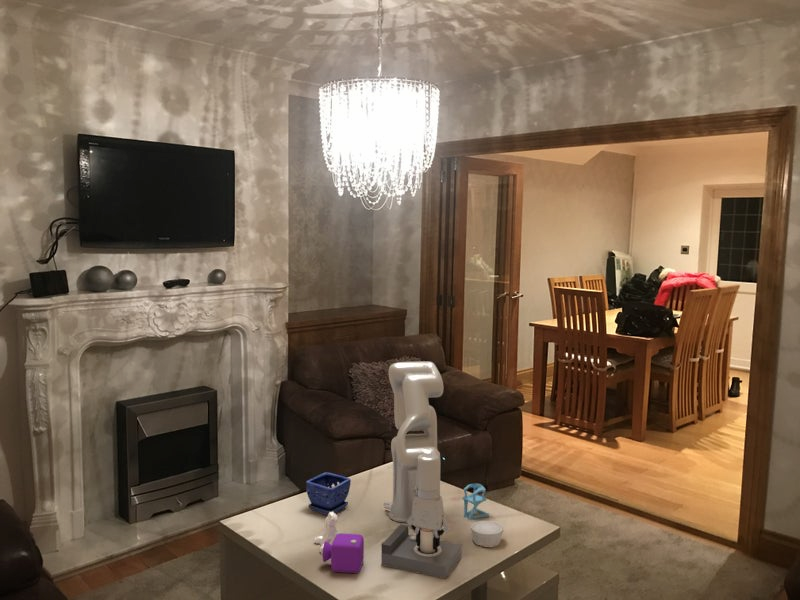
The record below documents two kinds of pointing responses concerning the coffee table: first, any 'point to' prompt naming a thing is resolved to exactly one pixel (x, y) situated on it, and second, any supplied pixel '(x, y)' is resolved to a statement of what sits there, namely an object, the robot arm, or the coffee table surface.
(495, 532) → the ramekin
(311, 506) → the flower pot
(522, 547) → the coffee table surface
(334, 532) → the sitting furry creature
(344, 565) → the toy camera
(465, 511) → the chair
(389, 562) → the camera body
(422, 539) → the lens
